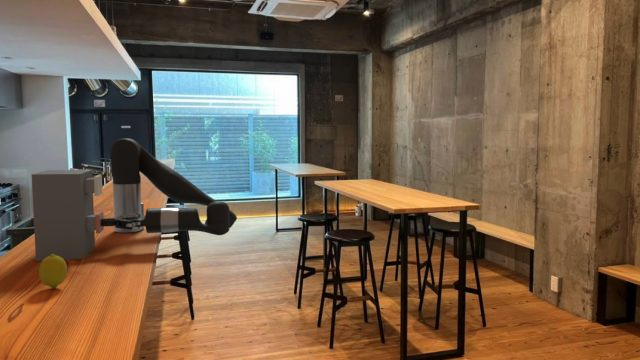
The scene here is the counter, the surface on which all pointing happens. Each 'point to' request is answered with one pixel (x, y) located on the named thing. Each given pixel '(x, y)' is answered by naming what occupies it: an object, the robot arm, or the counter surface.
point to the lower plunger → (95, 222)
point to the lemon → (53, 271)
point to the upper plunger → (94, 185)
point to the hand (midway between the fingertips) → (101, 222)
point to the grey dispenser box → (62, 214)
